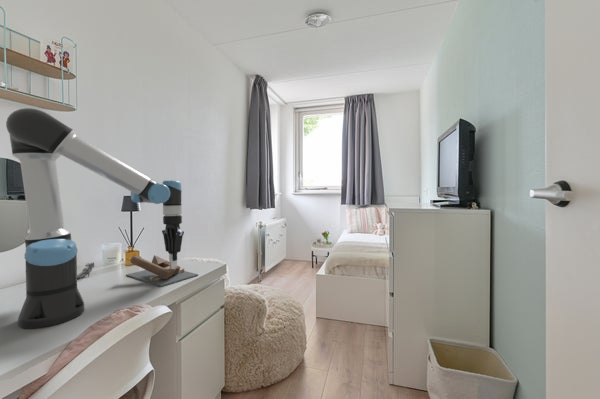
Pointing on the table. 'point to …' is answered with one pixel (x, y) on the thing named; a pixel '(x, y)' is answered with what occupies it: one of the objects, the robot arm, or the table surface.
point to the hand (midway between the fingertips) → (173, 267)
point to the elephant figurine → (86, 269)
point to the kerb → (160, 278)
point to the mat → (161, 282)
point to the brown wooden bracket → (156, 266)
